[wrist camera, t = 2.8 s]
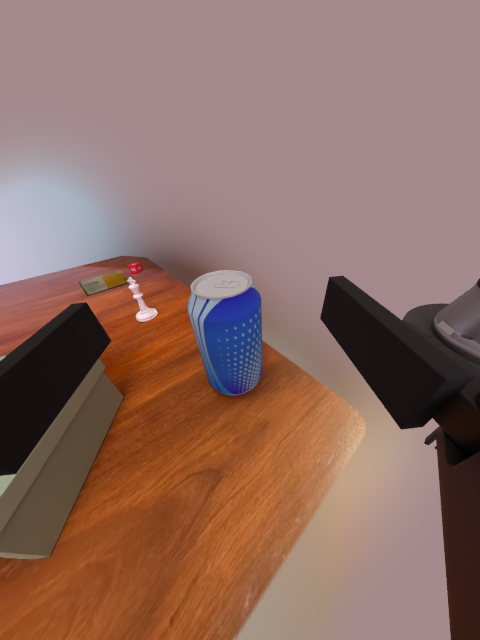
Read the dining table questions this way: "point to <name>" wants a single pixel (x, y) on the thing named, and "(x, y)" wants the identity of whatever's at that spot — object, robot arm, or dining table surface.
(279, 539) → the dining table surface
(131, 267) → the red letter cube
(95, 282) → the medication box
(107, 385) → the shelf
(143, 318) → the chess piece
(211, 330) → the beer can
